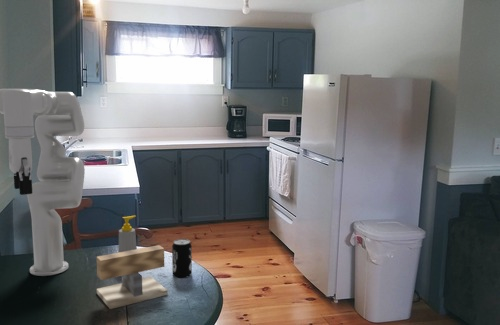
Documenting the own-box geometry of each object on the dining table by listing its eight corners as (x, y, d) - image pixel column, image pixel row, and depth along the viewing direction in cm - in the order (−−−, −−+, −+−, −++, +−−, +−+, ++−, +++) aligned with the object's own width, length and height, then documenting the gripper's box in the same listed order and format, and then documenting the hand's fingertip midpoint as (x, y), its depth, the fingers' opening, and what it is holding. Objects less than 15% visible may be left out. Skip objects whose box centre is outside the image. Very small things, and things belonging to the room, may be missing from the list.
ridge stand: (96, 293, 144) (95, 270, 143) (151, 280, 154) (150, 259, 153) (110, 309, 134) (109, 284, 133) (167, 294, 144) (167, 271, 143)
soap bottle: (140, 265, 169) (139, 217, 166) (122, 269, 164) (121, 220, 162) (133, 259, 174) (132, 213, 171) (115, 263, 170) (113, 216, 167)
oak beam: (159, 262, 150) (158, 245, 149) (164, 266, 147) (164, 248, 146) (97, 275, 139) (96, 256, 138) (101, 280, 136) (100, 260, 135)
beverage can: (188, 279, 156) (187, 245, 154) (169, 277, 157) (169, 243, 155) (194, 272, 162) (194, 239, 161) (176, 270, 164) (176, 237, 162)
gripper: (1, 131, 137) (4, 187, 140) (9, 135, 123) (13, 198, 126) (28, 130, 142) (31, 185, 144) (39, 134, 128) (43, 195, 130)
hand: (23, 191), depth 135 cm, fingers open, 9 cm apart
